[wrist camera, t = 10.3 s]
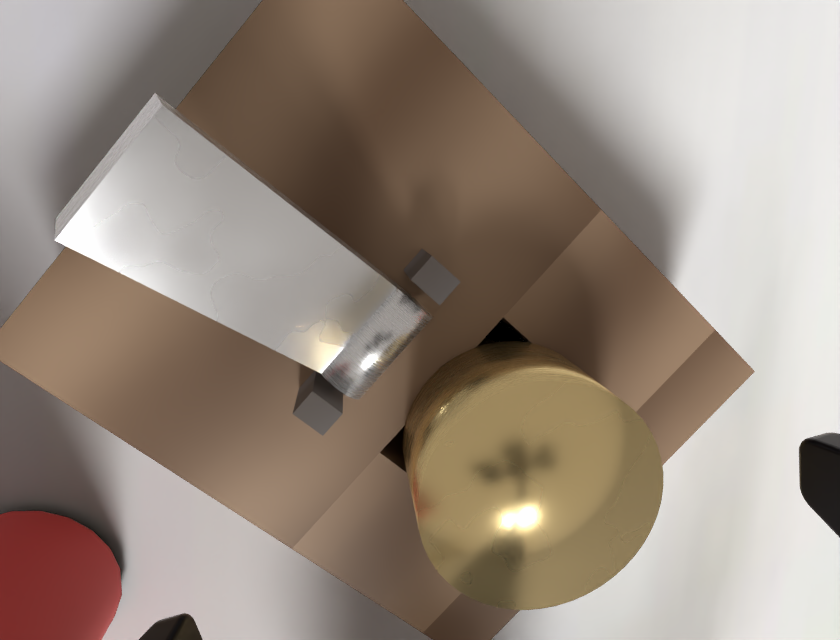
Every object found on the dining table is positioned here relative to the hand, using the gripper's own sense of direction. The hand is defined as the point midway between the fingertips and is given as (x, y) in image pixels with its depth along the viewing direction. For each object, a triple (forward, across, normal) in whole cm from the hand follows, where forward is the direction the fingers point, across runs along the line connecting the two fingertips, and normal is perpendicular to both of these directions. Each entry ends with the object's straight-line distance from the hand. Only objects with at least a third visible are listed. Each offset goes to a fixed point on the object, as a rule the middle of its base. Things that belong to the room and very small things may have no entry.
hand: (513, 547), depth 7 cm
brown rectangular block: (+13, 0, 0) cm, 13 cm away
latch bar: (+7, +3, -4) cm, 8 cm away
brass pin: (+13, -2, +3) cm, 14 cm away
